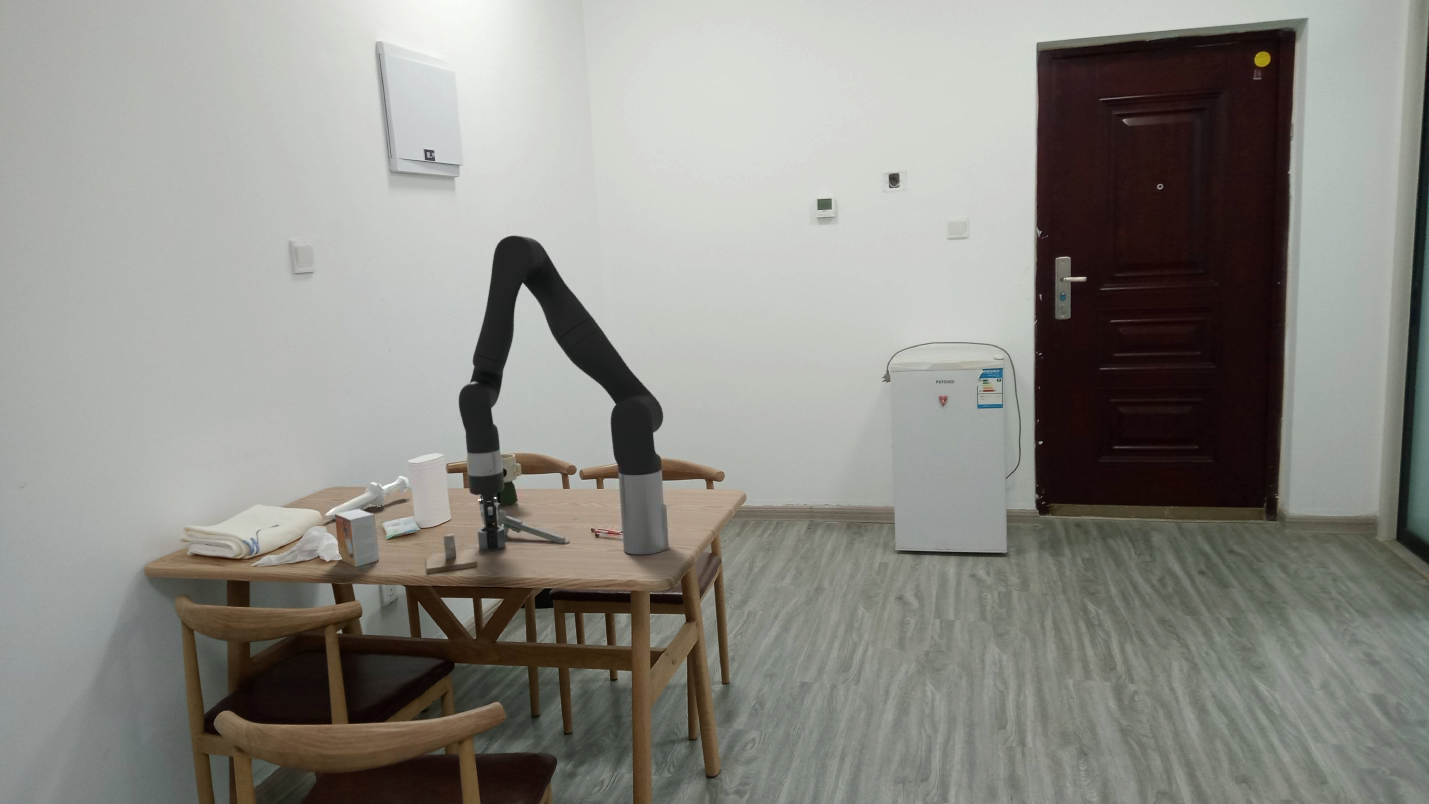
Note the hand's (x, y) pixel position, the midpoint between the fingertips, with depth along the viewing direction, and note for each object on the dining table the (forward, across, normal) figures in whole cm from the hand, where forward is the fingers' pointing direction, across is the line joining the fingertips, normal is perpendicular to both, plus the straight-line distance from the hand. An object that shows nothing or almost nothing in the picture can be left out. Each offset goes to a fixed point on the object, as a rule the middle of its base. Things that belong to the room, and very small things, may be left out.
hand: (491, 544), depth 209 cm
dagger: (+1, +49, +28) cm, 56 cm away
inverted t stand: (0, -8, +9) cm, 12 cm away
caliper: (+1, +2, -9) cm, 9 cm away
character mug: (+1, +36, -6) cm, 37 cm away
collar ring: (0, 0, 0) cm, 0 cm away
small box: (+1, +3, +28) cm, 28 cm away
